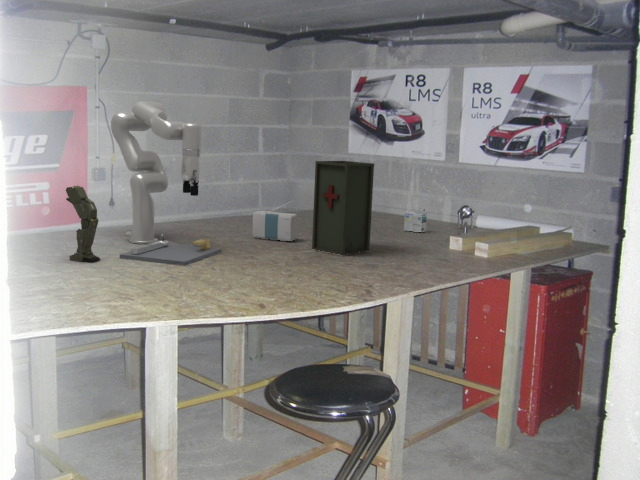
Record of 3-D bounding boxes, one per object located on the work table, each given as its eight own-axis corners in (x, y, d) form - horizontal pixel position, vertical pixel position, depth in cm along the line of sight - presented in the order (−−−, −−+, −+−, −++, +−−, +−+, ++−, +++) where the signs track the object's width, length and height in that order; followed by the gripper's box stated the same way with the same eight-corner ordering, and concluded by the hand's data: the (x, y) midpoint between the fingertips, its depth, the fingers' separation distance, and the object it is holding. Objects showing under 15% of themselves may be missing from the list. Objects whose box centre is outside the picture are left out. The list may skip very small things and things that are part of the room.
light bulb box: (426, 232, 375) (427, 213, 373) (421, 233, 369) (422, 214, 368) (408, 230, 381) (409, 211, 379) (403, 231, 375) (404, 212, 373)
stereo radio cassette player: (251, 238, 330) (252, 197, 327) (259, 236, 337) (260, 196, 334) (290, 243, 322) (292, 201, 319) (297, 240, 330) (299, 199, 327)
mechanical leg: (110, 258, 264) (94, 182, 261) (98, 262, 257) (81, 184, 254) (81, 263, 268) (65, 188, 266) (69, 266, 262) (52, 190, 259)
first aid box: (369, 251, 308) (374, 163, 302) (342, 256, 295) (347, 163, 288) (338, 245, 320) (342, 160, 314) (311, 249, 307) (315, 161, 300)
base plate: (119, 258, 270) (119, 254, 270) (161, 246, 300) (161, 242, 300) (184, 265, 262) (184, 261, 261) (221, 252, 292) (221, 248, 291)
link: (160, 244, 294) (160, 233, 293) (170, 245, 292) (170, 234, 292) (128, 253, 271) (128, 241, 271) (139, 254, 270) (139, 242, 269)
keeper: (192, 251, 283) (192, 241, 282) (203, 247, 292) (203, 238, 291) (199, 252, 282) (199, 242, 281) (210, 248, 291) (210, 239, 290)
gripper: (176, 151, 288) (175, 191, 291) (189, 154, 274) (188, 196, 277) (192, 152, 292) (192, 191, 295) (207, 154, 277) (206, 196, 280)
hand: (190, 194), depth 286 cm, fingers open, 9 cm apart
